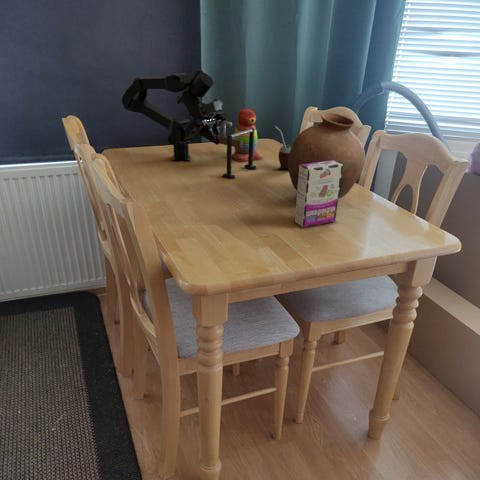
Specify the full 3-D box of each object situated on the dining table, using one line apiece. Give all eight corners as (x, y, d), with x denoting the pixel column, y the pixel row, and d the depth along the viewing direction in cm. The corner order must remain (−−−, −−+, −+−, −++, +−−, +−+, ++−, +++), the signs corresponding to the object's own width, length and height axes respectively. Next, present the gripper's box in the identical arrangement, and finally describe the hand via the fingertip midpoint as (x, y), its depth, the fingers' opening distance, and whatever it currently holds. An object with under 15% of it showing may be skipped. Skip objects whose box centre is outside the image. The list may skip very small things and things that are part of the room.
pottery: (283, 185, 163) (290, 105, 149) (351, 188, 162) (364, 108, 148) (286, 209, 144) (294, 121, 130) (363, 212, 144) (380, 124, 130)
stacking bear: (239, 162, 184) (241, 112, 174) (227, 155, 191) (228, 107, 181) (263, 159, 188) (266, 110, 178) (250, 152, 196) (252, 105, 186)
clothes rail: (222, 176, 168) (223, 134, 160) (246, 166, 179) (248, 127, 171) (232, 179, 166) (233, 136, 158) (255, 168, 177) (257, 128, 169)
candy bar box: (325, 216, 140) (332, 159, 131) (335, 222, 136) (344, 164, 127) (292, 222, 136) (298, 163, 127) (302, 228, 132) (309, 168, 123)
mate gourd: (300, 170, 178) (304, 127, 169) (283, 173, 174) (287, 129, 165) (287, 165, 183) (291, 123, 174) (271, 168, 179) (274, 125, 170)
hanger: (212, 142, 172) (212, 119, 168) (215, 141, 174) (215, 118, 169) (239, 147, 167) (240, 124, 163) (242, 146, 168) (243, 124, 164)
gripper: (191, 93, 158) (217, 134, 160) (223, 87, 171) (248, 125, 173) (173, 115, 166) (199, 154, 167) (206, 108, 179) (229, 143, 180)
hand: (220, 143), depth 172 cm, fingers closed on hanger, 2 cm apart
